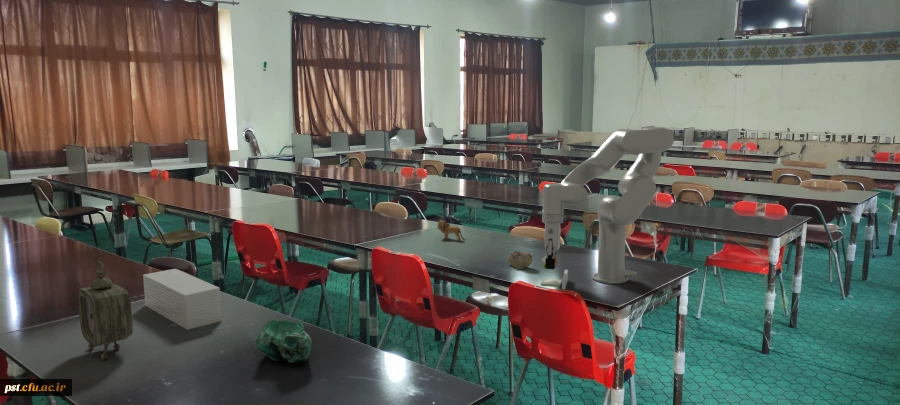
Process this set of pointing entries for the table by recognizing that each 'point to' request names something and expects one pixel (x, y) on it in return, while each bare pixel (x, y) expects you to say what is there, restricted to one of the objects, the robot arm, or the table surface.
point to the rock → (519, 259)
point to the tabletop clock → (104, 313)
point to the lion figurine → (449, 229)
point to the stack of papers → (182, 298)
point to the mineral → (284, 341)
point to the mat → (551, 282)
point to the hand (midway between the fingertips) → (550, 266)
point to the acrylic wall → (564, 279)
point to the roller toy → (555, 260)
